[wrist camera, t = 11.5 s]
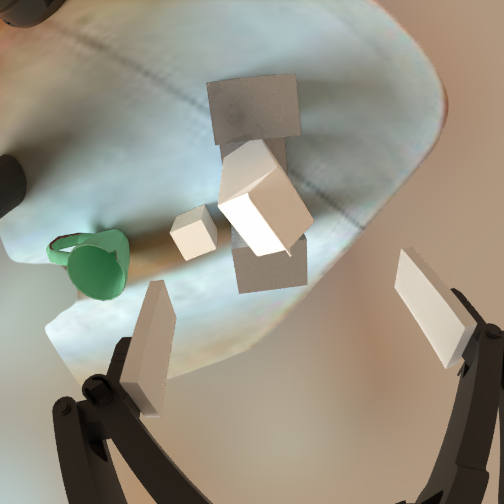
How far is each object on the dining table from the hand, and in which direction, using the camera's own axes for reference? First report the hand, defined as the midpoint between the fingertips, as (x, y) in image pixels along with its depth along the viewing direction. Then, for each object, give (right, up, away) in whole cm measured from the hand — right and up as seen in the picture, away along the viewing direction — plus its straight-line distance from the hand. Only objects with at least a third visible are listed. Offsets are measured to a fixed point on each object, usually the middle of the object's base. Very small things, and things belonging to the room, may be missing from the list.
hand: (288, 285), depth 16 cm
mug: (-27, +4, +32) cm, 42 cm away
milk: (-2, +14, +26) cm, 30 cm away
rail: (-2, +15, +27) cm, 31 cm away
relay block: (-11, +6, +32) cm, 34 cm away
